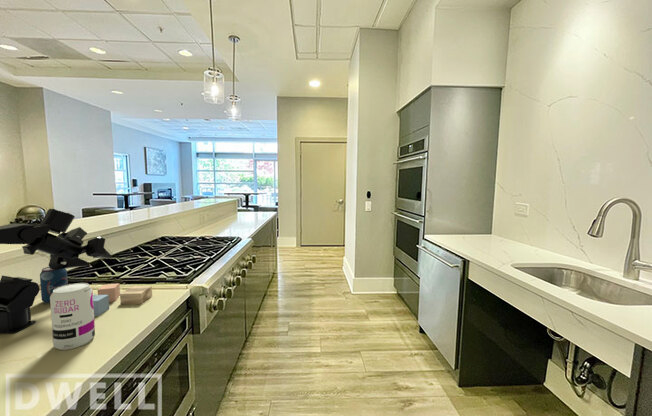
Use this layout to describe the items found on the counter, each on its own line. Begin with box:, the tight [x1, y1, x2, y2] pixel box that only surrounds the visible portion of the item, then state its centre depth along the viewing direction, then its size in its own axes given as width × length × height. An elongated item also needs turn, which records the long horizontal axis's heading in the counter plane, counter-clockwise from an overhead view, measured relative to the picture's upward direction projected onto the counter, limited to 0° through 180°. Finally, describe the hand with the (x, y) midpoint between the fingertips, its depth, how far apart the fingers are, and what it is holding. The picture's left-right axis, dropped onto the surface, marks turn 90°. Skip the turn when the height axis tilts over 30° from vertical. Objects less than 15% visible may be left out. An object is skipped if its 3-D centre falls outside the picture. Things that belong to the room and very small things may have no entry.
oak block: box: [119, 285, 153, 305], centre depth 101 cm, size 7×7×4 cm
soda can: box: [39, 266, 69, 304], centre depth 99 cm, size 7×7×12 cm
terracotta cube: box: [97, 283, 121, 303], centre depth 101 cm, size 5×5×5 cm
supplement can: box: [49, 282, 96, 351], centre depth 73 cm, size 8×8×15 cm
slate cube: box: [93, 294, 110, 317], centre depth 91 cm, size 5×5×5 cm
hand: (100, 260), depth 102 cm, fingers open, 9 cm apart
